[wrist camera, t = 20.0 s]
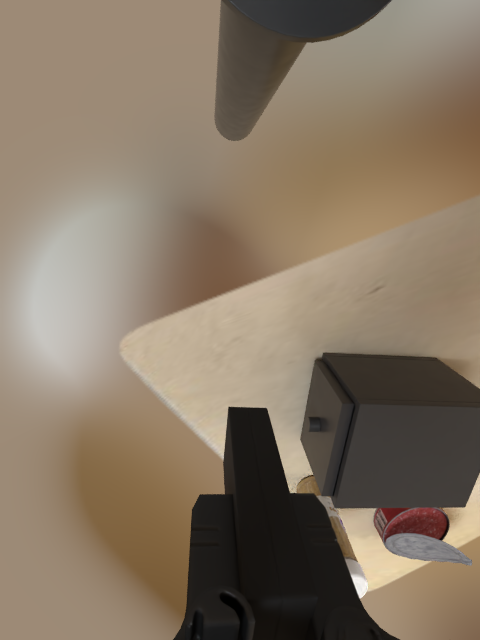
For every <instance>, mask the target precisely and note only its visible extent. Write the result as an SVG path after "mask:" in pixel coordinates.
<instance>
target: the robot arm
mask: <svg viewBox="0 0 480 640" xmlns="http://www.w3.org/2000/svg"><path fill="white" fill-rule="evenodd" d="M223 465H224V485H225V494H223V495H222V494H217V495H216V494H213V495H211V494H207V495H199V497H198V499H197V501H196V503H195V505H194V507H193V509H192V520H191V537H190V556H189V572H188V589H187V607H186V613H185V618H184V621H183V623H182V626H181V629H180V630H179V632H178V633H177V635H176V637H175V638H174V639H173V640H400V639H397V638H396V637H394V636H391V635H389V634H388V633H387V632H385V631H384V630H383V629H381V628H380V627H379V626H378V625H377V624H376V623H375V621H374V620H373V619H372V618H371V617H370V616H369V615H368V613H367V612H366V610H365V609H364V607H363V605H362V603H361V601H360V599H359V596H358V593H357V590H356V588H355V585H354V582H353V580H352V577H351V574H350V572H349V569H348V566H347V564H346V561H345V558H344V556H343V553H342V550H341V548H340V545H339V543H338V542H337V537H336V534H335V531H334V529H333V528H332V523H331V521H330V518H329V515H328V513H327V510H326V507H325V506H324V505H323V504H322V503H321V501H320V500H319V499H318V498H317V496H316V495H315V494H314V493H290V492H289V488H288V484H287V481H286V477H285V473H284V470H283V466H282V462H281V458H280V455H279V451H278V447H277V444H276V440H275V436H274V433H273V429H272V425H271V421H270V418H269V414H268V410H267V408H246V407H228V418H227V429H226V440H225V451H224V462H223Z"/></svg>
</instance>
